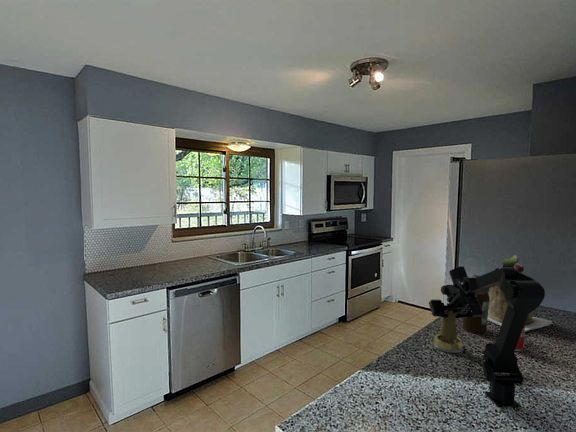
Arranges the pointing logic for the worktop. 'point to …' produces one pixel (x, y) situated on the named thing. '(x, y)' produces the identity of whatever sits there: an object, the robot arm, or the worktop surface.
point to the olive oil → (478, 323)
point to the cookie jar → (500, 305)
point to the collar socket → (448, 344)
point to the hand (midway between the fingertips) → (447, 317)
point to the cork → (449, 326)
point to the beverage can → (521, 341)
